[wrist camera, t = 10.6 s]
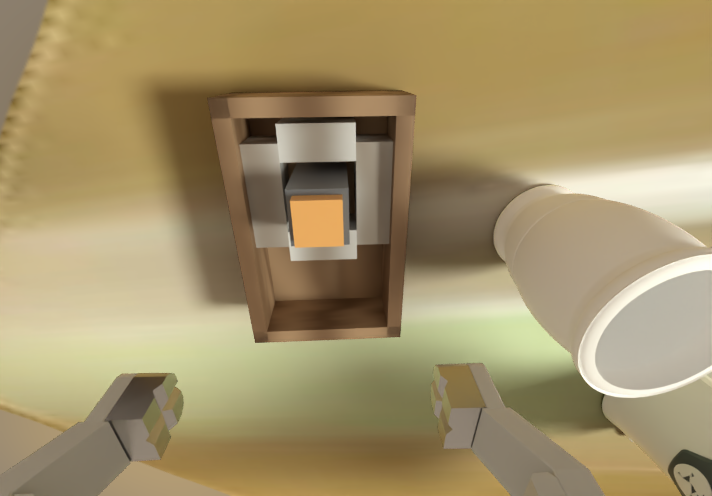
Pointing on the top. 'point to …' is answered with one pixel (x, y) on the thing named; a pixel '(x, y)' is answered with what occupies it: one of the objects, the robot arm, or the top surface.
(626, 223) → the jar
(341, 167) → the block
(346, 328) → the box
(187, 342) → the top surface
